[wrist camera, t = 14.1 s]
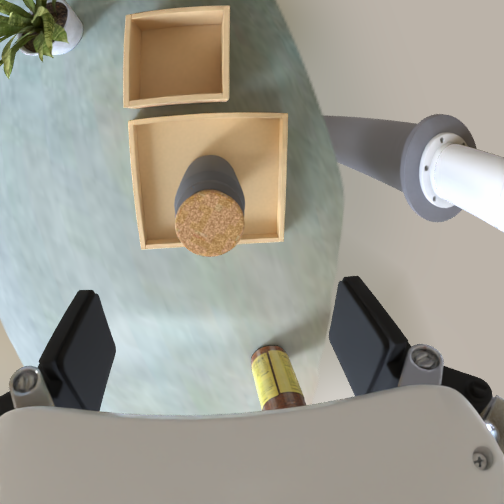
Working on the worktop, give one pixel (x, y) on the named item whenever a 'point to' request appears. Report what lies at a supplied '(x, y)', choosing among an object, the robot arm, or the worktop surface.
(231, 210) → the bottle
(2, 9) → the house plant
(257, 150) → the tray
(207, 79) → the bin
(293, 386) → the sauce bottle
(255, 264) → the worktop surface
